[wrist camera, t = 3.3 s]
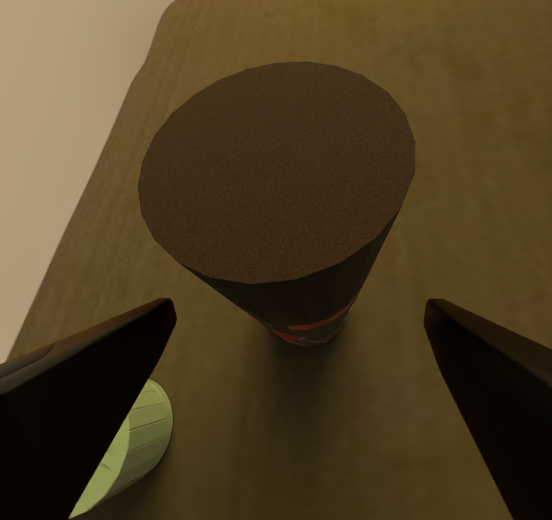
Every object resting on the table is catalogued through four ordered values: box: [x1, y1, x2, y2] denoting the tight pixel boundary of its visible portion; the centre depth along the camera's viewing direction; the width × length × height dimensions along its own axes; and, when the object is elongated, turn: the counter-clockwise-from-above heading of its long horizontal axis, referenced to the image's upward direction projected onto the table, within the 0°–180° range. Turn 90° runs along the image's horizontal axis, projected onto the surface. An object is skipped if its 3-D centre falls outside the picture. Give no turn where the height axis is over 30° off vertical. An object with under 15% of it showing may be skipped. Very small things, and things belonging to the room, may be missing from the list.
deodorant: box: [138, 62, 415, 347], centre depth 12 cm, size 6×6×15 cm
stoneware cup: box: [68, 379, 173, 519], centre depth 16 cm, size 9×6×4 cm
